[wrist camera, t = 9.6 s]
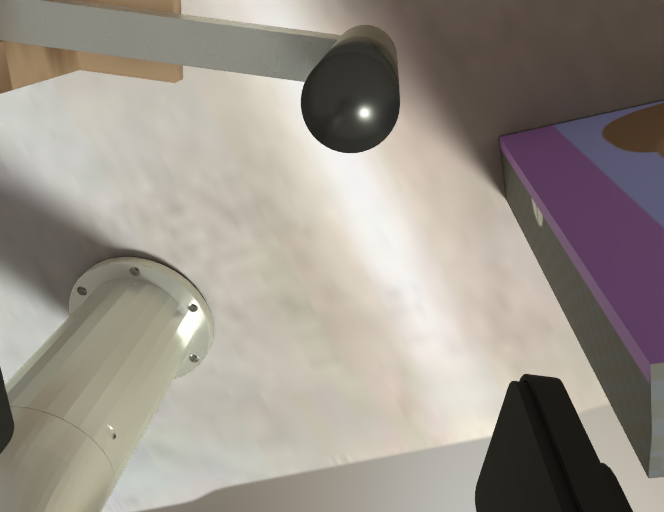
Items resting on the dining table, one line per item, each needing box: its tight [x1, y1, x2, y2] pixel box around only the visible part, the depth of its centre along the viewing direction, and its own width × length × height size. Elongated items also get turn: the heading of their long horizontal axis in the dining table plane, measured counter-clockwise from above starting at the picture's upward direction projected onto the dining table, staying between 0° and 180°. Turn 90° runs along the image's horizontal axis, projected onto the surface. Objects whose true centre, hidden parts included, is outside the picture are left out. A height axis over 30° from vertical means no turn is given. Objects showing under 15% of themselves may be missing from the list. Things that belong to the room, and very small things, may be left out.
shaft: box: [0, 0, 400, 153], centre depth 21 cm, size 3×22×10 cm, turn 84°
